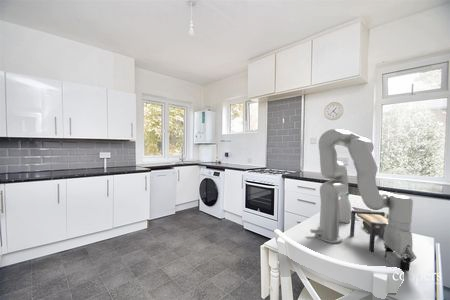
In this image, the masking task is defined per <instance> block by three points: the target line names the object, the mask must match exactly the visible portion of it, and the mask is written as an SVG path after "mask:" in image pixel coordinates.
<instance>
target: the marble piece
mask: <svg viewBox="0 0 450 300" xmlns="http://www.w3.org/2000/svg"><path fill="white" fill-rule="evenodd" d="M362 225H363V229H365V230H366V231H367V232H368V233H370V227H371V224H370V223H368V222H367V221H365V220H362ZM385 227H386V226H384V231H385ZM376 235H377V236H379V226H376V228H375V236H376ZM383 236H384V233H383Z"/></svg>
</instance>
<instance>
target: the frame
mask: <svg viewBox="0 0 450 300" xmlns="http://www.w3.org/2000/svg"><path fill="white" fill-rule="evenodd" d="M357 214H374V215H382V216H384V217H386V216H385V215H386V213H385V212H384V211H376V210H373V211H371V210H370V211H369V210H352V209H351V215H350V227H349V228H350V231H349V236H350V235H351V236H350V237H355V227H356V225H355V224H356V215H357ZM386 224H387V223H384V222H371V227H370V232H369V244H368V246H369V247H368V251H369V252H370V251H371V252H370V253H374V252H375V239H376V234H375V228H376V226H379V235H378V238H380V239H381V240H383V239H382V237H383V233H384V226H386Z"/></svg>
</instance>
